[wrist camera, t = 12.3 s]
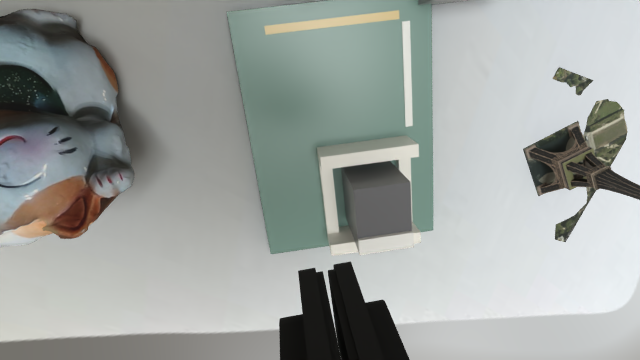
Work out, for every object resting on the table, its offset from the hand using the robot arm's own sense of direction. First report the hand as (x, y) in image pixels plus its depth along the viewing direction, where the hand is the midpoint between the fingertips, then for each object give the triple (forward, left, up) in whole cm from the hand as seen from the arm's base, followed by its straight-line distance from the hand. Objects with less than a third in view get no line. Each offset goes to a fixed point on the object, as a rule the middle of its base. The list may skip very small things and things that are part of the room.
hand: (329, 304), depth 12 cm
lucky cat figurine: (-5, -19, -21) cm, 29 cm away
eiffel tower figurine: (+5, +24, -22) cm, 33 cm away
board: (-1, +4, -21) cm, 21 cm away
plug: (+4, +5, -20) cm, 21 cm away
